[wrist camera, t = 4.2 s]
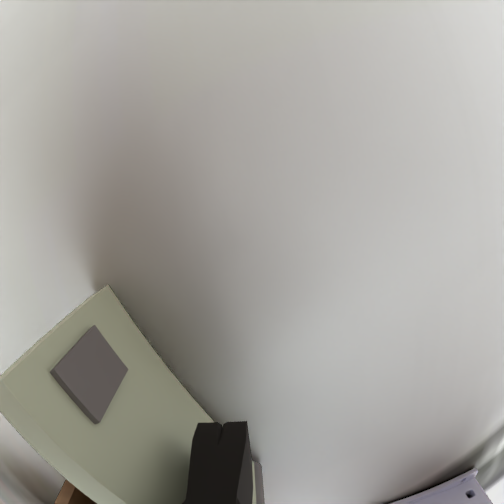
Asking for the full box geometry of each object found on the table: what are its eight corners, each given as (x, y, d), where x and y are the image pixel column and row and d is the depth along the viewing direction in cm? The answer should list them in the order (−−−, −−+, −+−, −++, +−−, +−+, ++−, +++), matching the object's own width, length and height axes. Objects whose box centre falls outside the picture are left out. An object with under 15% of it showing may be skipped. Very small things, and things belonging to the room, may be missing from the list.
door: (267, 469, 12) (279, 582, 6) (244, 476, 12) (247, 586, 6) (113, 280, 10) (-3, 385, 4) (88, 297, 10) (-24, 399, 4)
